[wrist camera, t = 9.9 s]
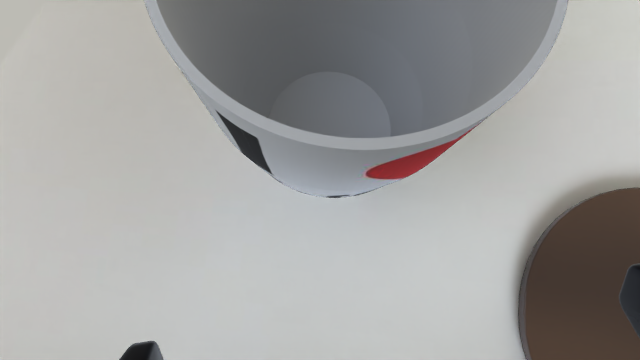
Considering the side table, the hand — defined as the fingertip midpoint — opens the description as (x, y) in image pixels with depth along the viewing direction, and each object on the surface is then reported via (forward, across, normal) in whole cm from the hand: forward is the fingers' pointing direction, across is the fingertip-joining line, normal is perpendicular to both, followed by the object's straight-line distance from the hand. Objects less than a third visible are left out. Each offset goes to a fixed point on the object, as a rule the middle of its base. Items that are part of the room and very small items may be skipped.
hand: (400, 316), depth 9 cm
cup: (+11, 0, +1) cm, 11 cm away
